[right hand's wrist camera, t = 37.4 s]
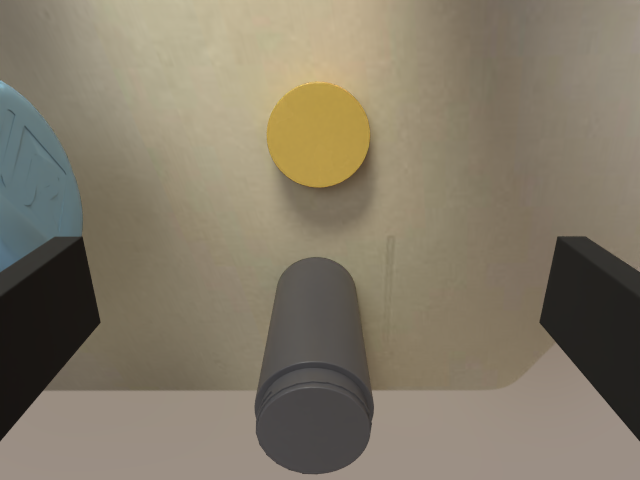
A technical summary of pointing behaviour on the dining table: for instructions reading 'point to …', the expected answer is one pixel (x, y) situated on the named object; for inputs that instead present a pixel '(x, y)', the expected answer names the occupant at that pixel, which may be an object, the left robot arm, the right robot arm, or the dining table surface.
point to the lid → (318, 134)
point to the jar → (314, 372)
